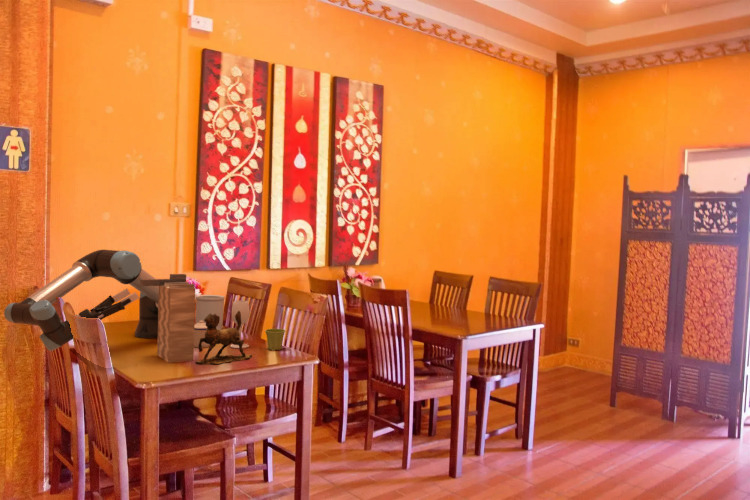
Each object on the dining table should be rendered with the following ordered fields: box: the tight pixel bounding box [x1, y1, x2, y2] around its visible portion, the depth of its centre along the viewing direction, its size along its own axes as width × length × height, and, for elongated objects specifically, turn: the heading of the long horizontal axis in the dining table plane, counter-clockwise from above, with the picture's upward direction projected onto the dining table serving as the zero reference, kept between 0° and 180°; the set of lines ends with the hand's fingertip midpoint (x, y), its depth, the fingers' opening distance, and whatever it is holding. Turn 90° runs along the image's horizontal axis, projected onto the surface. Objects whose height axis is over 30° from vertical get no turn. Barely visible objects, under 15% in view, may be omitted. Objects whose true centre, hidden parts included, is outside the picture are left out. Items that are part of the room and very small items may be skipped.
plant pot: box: [264, 328, 286, 351], centre depth 278 cm, size 9×9×9 cm
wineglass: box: [229, 299, 251, 349], centre depth 280 cm, size 9×9×21 cm
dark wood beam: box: [140, 273, 187, 286], centre depth 253 cm, size 3×18×4 cm, turn 126°
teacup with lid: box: [194, 321, 210, 349], centre depth 279 cm, size 12×9×12 cm
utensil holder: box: [195, 294, 225, 330], centre depth 322 cm, size 15×15×18 cm
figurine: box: [194, 311, 253, 366], centre depth 252 cm, size 13×25×20 cm, turn 128°
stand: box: [156, 281, 196, 364], centre depth 252 cm, size 16×10×32 cm, turn 36°
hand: (133, 293), depth 246 cm, fingers open, 13 cm apart
